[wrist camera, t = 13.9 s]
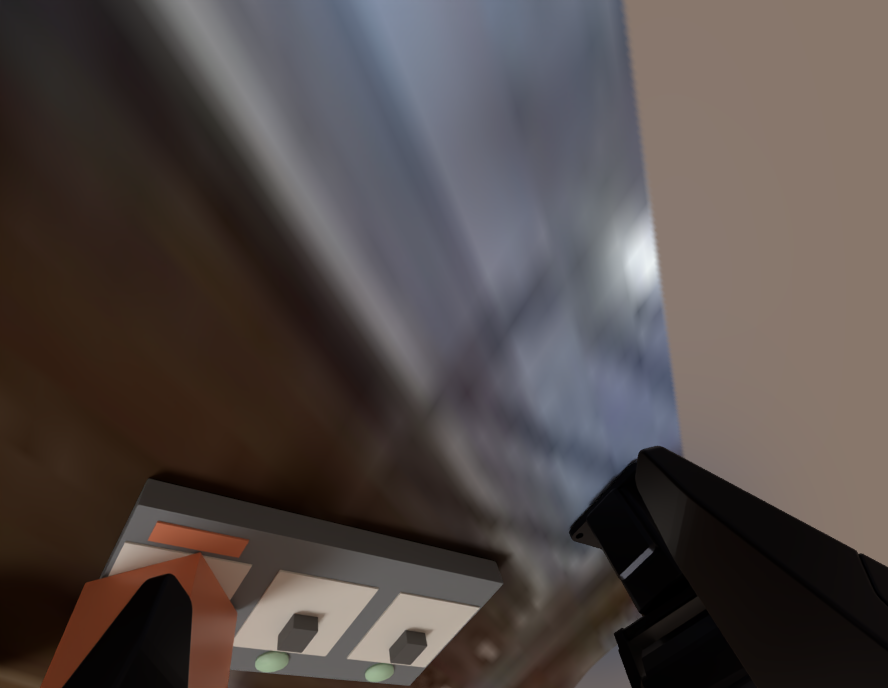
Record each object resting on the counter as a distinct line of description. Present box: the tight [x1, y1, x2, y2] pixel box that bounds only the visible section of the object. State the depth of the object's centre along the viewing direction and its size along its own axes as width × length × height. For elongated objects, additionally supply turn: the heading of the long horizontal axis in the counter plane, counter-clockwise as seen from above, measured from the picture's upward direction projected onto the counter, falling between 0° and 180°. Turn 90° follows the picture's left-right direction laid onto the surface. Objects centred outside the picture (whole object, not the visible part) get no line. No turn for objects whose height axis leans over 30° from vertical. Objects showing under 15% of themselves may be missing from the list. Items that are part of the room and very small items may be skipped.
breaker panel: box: [99, 479, 503, 686], centre depth 27 cm, size 20×11×2 cm, turn 57°
